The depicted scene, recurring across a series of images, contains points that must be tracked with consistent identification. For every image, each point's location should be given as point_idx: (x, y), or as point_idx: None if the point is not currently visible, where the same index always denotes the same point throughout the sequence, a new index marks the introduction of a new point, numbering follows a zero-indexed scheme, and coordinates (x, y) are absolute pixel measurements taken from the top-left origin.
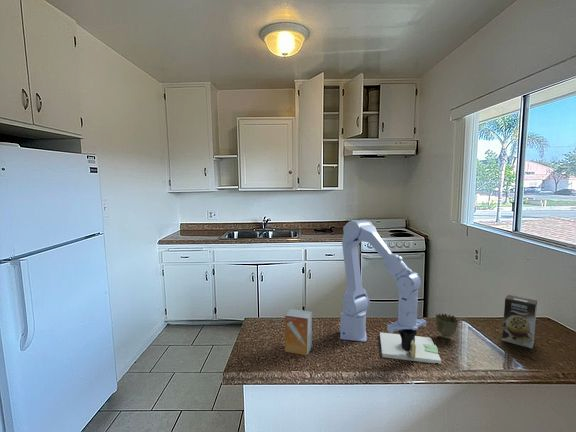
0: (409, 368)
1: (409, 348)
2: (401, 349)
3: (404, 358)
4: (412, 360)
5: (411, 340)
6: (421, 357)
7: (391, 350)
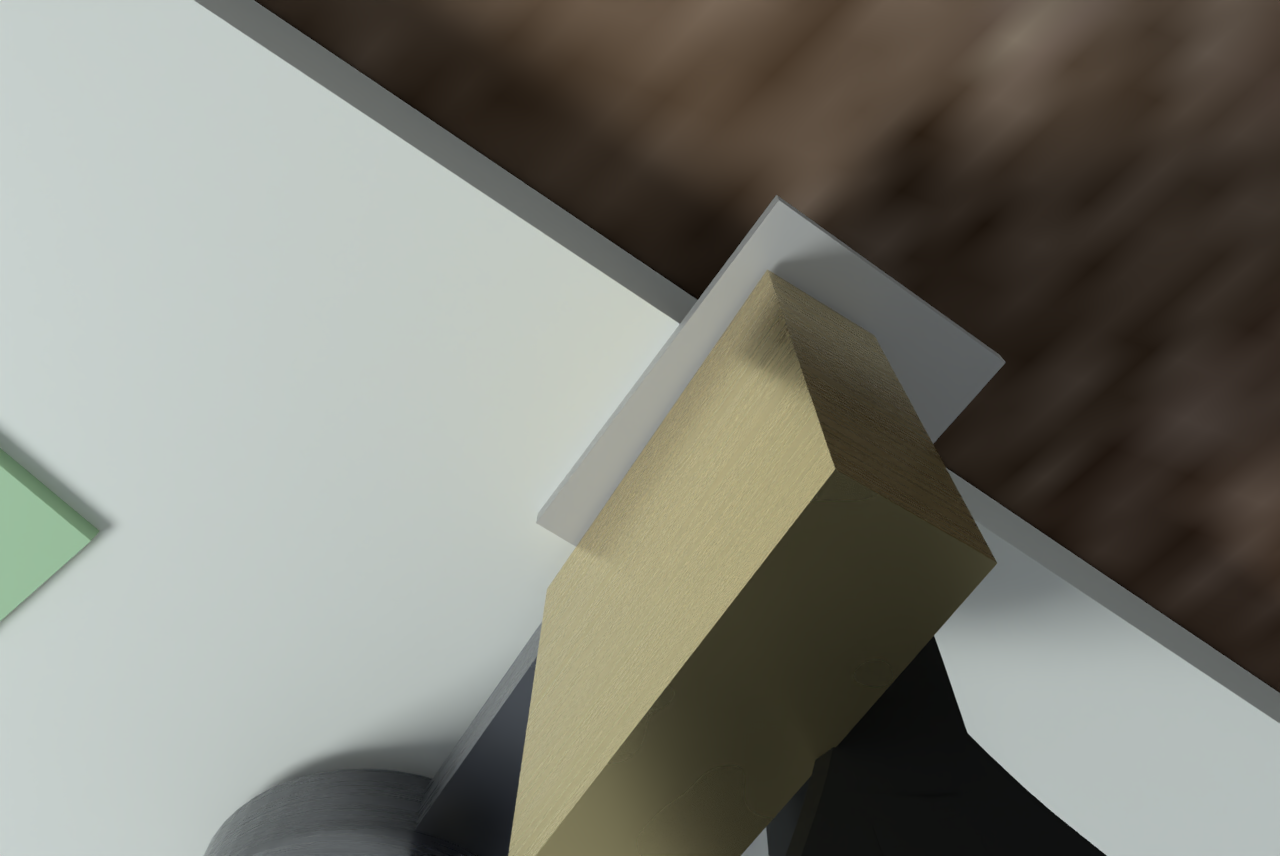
0: (1191, 21)
1: None
2: None
3: None
4: None
5: (848, 840)
6: (490, 254)
7: None
